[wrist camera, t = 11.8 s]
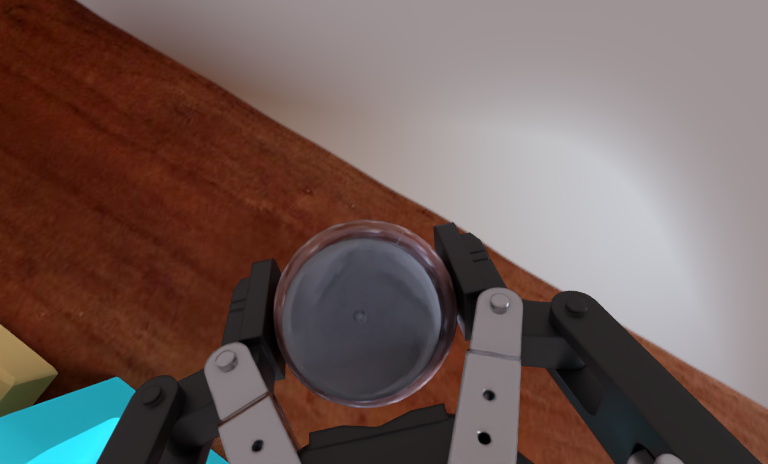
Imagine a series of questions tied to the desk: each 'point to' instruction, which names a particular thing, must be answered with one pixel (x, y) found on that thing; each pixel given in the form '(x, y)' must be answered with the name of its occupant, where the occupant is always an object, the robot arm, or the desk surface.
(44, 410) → the bracket
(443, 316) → the supplement bottle
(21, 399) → the rubber stamp
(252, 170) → the desk surface
